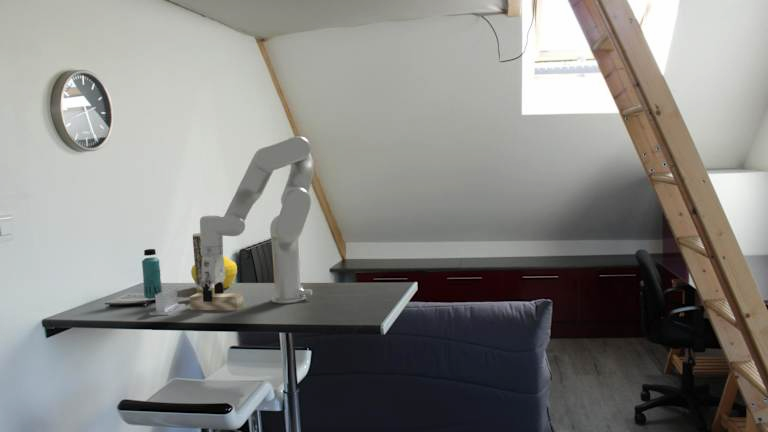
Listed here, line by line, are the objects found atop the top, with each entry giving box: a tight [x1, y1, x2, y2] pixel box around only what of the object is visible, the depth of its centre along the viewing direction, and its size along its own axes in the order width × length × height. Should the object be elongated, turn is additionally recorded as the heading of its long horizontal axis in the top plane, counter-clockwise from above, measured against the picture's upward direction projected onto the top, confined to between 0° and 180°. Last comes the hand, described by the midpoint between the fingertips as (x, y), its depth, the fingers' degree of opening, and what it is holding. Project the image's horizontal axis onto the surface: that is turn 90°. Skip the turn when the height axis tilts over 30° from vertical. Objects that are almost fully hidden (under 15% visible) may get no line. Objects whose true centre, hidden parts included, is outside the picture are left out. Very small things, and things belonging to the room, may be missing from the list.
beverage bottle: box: [141, 248, 163, 300], centre depth 225 cm, size 6×7×20 cm
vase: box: [190, 254, 238, 290], centre depth 243 cm, size 18×18×19 cm
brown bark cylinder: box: [192, 232, 215, 294], centre depth 225 cm, size 7×7×25 cm
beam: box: [189, 293, 244, 311], centre depth 208 cm, size 18×5×5 cm, turn 78°
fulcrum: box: [149, 287, 186, 316], centre depth 208 cm, size 7×12×7 cm, turn 173°
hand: (213, 298), depth 208 cm, fingers open, 9 cm apart
